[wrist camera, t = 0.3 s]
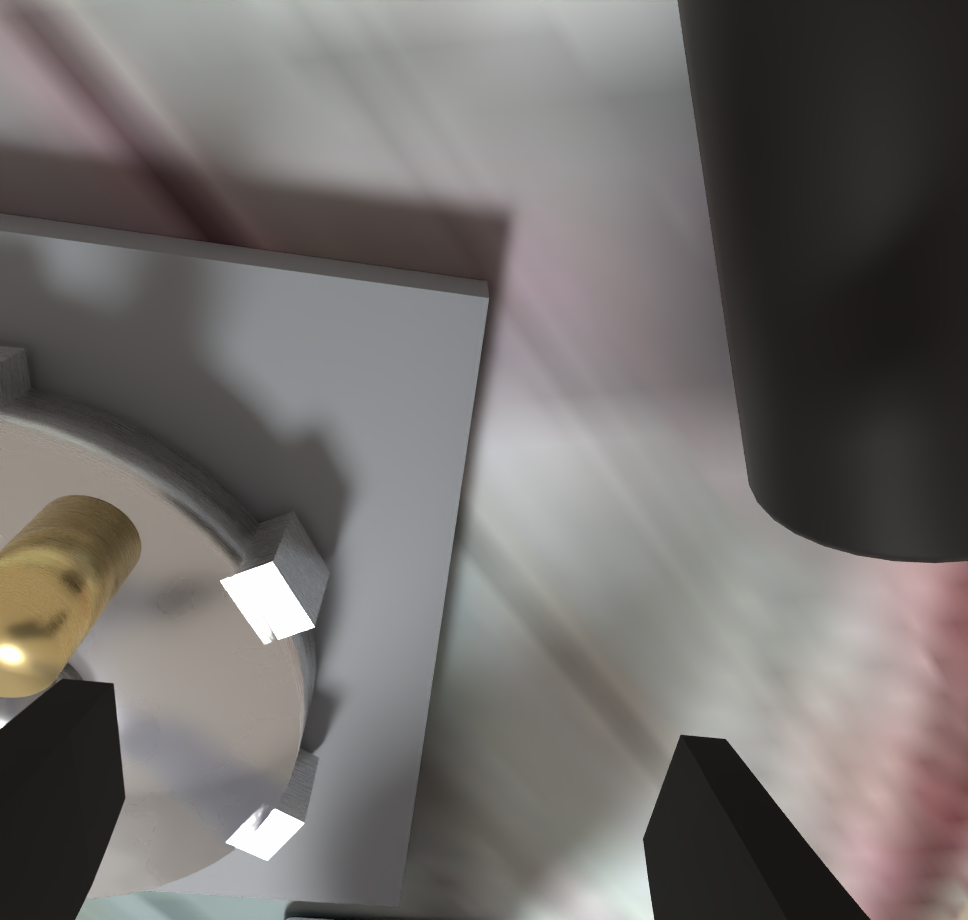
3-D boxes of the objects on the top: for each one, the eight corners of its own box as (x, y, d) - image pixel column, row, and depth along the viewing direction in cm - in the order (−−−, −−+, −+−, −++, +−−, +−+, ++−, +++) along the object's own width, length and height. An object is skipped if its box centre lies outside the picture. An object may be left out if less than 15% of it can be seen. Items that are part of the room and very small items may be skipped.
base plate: (402, 863, 25) (398, 910, 23) (-225, 818, 23) (-270, 866, 22) (487, 281, 16) (488, 299, 15) (-517, 140, 14) (-626, 146, 13)
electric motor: (623, -33, 14) (749, -134, 8) (1019, -168, 13) (1514, -402, 7) (704, 434, 18) (825, 608, 12) (1003, 354, 17) (1294, 496, 11)
